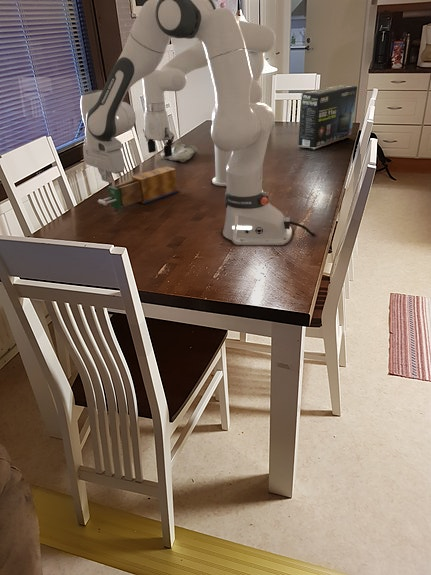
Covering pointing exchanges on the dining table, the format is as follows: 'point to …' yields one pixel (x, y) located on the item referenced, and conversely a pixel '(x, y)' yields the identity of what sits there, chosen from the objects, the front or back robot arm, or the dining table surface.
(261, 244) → the front robot arm
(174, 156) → the fossil
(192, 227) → the dining table surface
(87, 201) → the dining table surface
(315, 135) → the router box
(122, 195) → the drawer
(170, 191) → the cabinet
